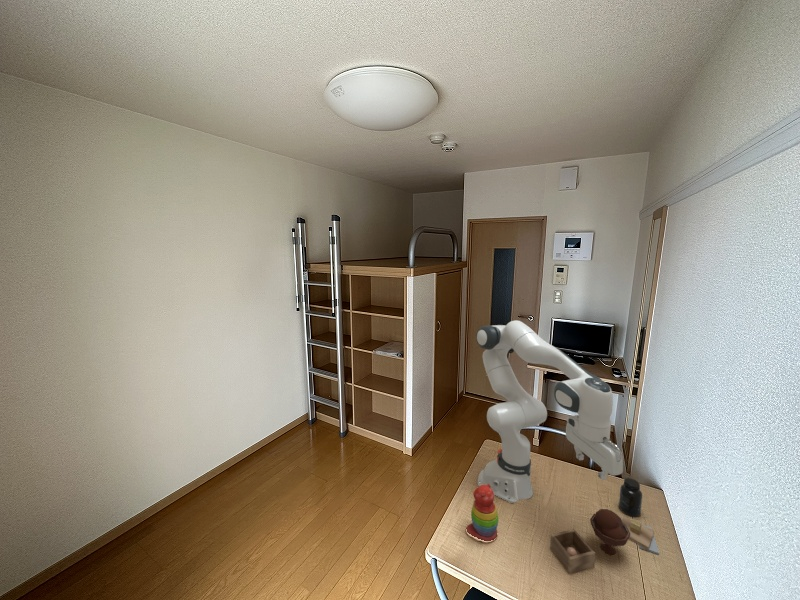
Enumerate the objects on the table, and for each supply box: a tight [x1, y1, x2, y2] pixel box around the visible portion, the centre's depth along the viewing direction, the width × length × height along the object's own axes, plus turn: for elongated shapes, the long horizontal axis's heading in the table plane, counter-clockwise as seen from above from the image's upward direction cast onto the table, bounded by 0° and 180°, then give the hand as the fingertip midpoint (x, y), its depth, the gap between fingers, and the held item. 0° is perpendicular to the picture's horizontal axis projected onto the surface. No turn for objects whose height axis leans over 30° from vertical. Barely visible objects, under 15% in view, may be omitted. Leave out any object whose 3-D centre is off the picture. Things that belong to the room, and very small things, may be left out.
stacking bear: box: [465, 484, 499, 541], centre depth 113 cm, size 11×10×18 cm
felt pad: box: [620, 517, 660, 555], centre depth 111 cm, size 11×11×1 cm
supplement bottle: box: [618, 477, 643, 518], centre depth 121 cm, size 7×7×12 cm
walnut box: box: [549, 528, 596, 575], centre depth 103 cm, size 9×9×6 cm
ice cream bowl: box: [589, 508, 630, 557], centre depth 104 cm, size 11×11×15 cm
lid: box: [621, 515, 655, 550], centre depth 111 cm, size 9×9×4 cm
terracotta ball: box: [566, 547, 577, 556], centre depth 103 cm, size 3×3×3 cm
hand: (590, 468), depth 104 cm, fingers open, 8 cm apart
